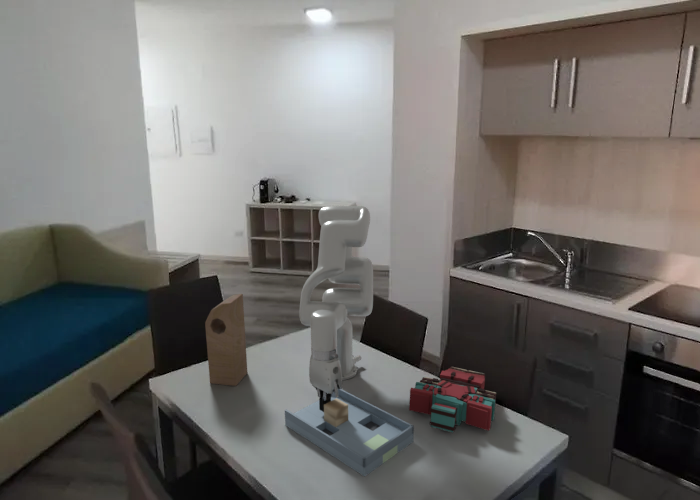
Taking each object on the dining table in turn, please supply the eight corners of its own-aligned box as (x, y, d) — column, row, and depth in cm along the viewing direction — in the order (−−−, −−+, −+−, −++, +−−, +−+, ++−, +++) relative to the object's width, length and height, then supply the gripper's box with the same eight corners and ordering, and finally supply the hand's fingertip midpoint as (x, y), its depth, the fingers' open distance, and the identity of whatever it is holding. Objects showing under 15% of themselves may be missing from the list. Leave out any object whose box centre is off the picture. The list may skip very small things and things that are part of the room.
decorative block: (236, 386, 168) (230, 303, 161) (209, 383, 170) (203, 301, 163) (247, 372, 178) (243, 293, 171) (222, 370, 180) (216, 292, 173)
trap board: (334, 399, 160) (334, 385, 158) (413, 441, 138) (413, 425, 137) (285, 425, 146) (284, 410, 145) (364, 476, 124) (364, 459, 123)
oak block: (336, 413, 147) (336, 398, 146) (348, 420, 144) (348, 404, 143) (324, 420, 144) (323, 404, 143) (335, 427, 140) (335, 411, 139)
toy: (431, 383, 172) (401, 425, 145) (433, 358, 170) (402, 395, 144) (503, 399, 161) (484, 448, 135) (505, 373, 159) (486, 416, 133)
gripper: (351, 356, 140) (351, 414, 144) (317, 341, 151) (318, 395, 155) (332, 364, 135) (333, 424, 139) (297, 348, 145) (299, 404, 150)
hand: (325, 409), depth 147 cm, fingers closed
